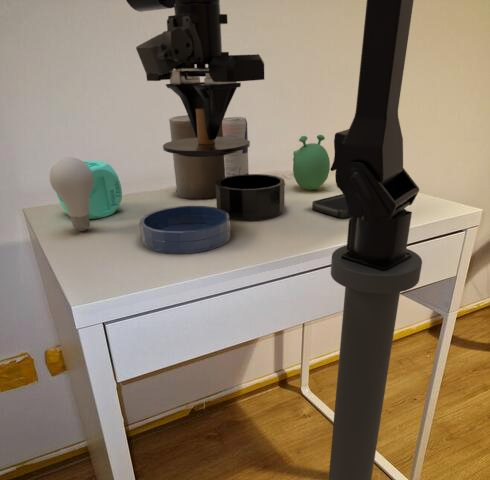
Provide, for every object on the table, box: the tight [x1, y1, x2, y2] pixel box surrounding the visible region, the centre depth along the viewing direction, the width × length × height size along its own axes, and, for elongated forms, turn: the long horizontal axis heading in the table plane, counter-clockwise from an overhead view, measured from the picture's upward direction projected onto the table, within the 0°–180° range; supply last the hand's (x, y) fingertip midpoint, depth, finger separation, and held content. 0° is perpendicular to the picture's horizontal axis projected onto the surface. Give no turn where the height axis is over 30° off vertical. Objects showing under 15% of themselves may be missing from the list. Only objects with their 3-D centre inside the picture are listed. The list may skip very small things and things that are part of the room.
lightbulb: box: [49, 156, 94, 232], centre depth 70 cm, size 6×6×11 cm
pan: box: [139, 205, 232, 255], centre depth 68 cm, size 13×13×3 cm
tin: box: [215, 173, 286, 222], centre depth 79 cm, size 11×11×5 cm
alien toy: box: [292, 134, 331, 191], centre depth 89 cm, size 7×8×10 cm
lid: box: [162, 108, 251, 157], centre depth 66 cm, size 12×12×6 cm
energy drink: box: [222, 116, 250, 177], centre depth 98 cm, size 5×5×12 cm
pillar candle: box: [168, 114, 225, 200], centre depth 87 cm, size 10×10×15 cm
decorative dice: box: [56, 160, 123, 220], centre depth 79 cm, size 8×8×8 cm
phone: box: [311, 193, 352, 219], centre depth 80 cm, size 8×1×15 cm
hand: (206, 138), depth 66 cm, fingers closed on lid, 2 cm apart
